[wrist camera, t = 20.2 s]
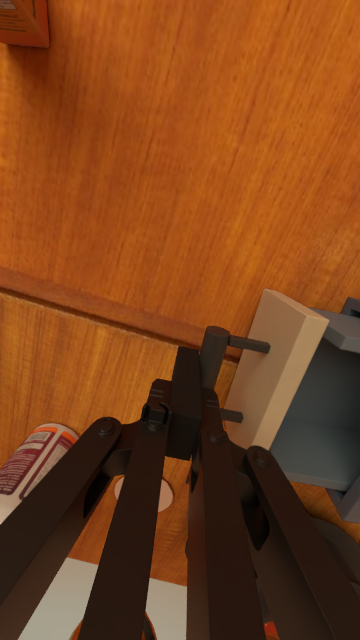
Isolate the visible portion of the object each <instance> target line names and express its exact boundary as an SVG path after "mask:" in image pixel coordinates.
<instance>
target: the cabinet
mask: <svg viewBox="0 0 360 640" xmlns="http://www.w3.org/2000/svg"><path fill="white" fill-rule="evenodd" d="M341 314H344V315H348V316H353V317H358V318H360V299H356V298H352V297H348V299H347V301H346V303H345V305H344V307H343V310H342V312H341ZM325 489H326V491H327V493H328V495H329V497H330V498H331V500H332V502H333V504H334V506H335V507H336V509H337V511H338V513H339V515H340V516H341V518H342V520H343V521H347V522H352V523H358V524H360V475H359V476H358V477H357V479H356V480H355V482H354V483H353V484H352V486H351V487H350V489H349V490H348V491H347V492H346V491H340V490H335V489H330V488H325Z"/></svg>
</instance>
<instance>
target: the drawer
mask: <svg viewBox="0 0 360 640" xmlns="http://www.w3.org/2000/svg"><path fill="white" fill-rule="evenodd" d="M227 345H228V346H232V347H237V348H242V349H244V350H243V353H242V355H241V358H240V361H239V364H238V367H237V370H236V373H235V376H234V379H233V382H232V385H231V388H230V391H229V394H228V397H227V400H226V403H225V406H224V409H223V408H219V409H220V413H221V419H222V420H225V422H226V427H227V432H228V437H229V440H231V441H232V442H233V443H235V444H236V445H238V446H240V447H242V448H244V449H246V450H247V449H248V448H249V447H250V446H253V445H257V446H261V447H263V448H265V449H266V450H268V451H269V452H270V453H271V454H272V455H273V456H274V458H275V459H276V461H277V462H278V464H279V466H280V467H281V469H282V471H283V472H284V474H285V476H286V477H287V479H288V481H293V482H299V483H304V484H309V485H314V486H320V487H325V488H330V489H335V490H340V491H346V492H347V491H348V490H349V489H350V487H351V486H352V484H353V483H354V482H355V480H356V479H357V477H358V476H359V475H360V318H358V317H353V316H348V315H344V314H339V313H334V312H329V311H324V310H320V309H315V308H310V307H305V306H304V305H302V304H300V303H298V302H296V301H295V300H293V299H291V298H289V297H288V296H286V295H284V294H282V293H280V292H279V291H275V290H270V289H264V290H263V293H262V296H261V299H260V302H259V305H258V308H257V311H256V314H255V317H254V320H253V323H252V326H251V329H250V332H249V335H248V338H244V337H239V336H234V335H230V332H229V331H227V330H226V329H224V328H221V327H217V326H208V327H207V328H206V331H205V335H204V339H203V343H202V346H201V350H200V354H199V368H200V386H201V387H204V388H209V389H214V387H215V384H216V381H217V377H218V374H219V371H220V367H221V364H222V361H223V358H224V354H225V351H226V348H227Z"/></svg>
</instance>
